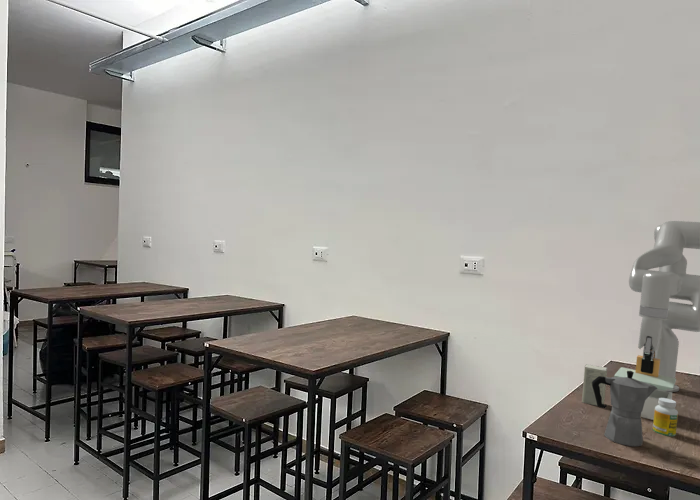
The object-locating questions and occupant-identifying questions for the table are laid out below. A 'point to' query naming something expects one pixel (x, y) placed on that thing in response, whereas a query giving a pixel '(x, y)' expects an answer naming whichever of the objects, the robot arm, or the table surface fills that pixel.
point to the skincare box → (590, 375)
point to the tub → (653, 403)
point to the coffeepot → (624, 407)
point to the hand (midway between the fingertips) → (647, 370)
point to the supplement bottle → (665, 417)
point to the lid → (649, 375)
